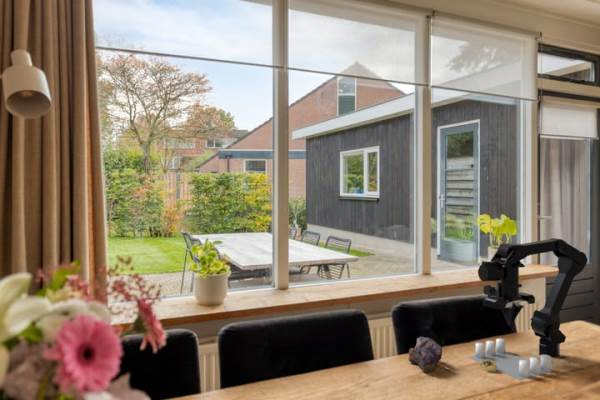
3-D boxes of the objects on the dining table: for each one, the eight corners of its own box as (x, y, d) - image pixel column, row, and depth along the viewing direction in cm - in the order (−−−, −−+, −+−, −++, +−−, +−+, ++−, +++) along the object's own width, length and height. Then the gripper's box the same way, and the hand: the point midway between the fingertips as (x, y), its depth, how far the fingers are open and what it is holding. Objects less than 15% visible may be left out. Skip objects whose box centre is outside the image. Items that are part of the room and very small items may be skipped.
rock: (418, 377, 136) (448, 374, 137) (419, 352, 134) (449, 350, 135) (405, 358, 147) (432, 355, 148) (405, 335, 146) (433, 333, 147)
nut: (488, 364, 139) (486, 357, 139) (500, 370, 135) (499, 363, 135) (478, 370, 138) (476, 363, 138) (490, 376, 133) (489, 369, 133)
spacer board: (501, 352, 153) (501, 337, 153) (554, 373, 135) (554, 356, 135) (468, 360, 146) (468, 344, 146) (519, 383, 128) (519, 365, 128)
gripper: (508, 274, 157) (508, 315, 157) (471, 278, 149) (471, 322, 149) (536, 279, 147) (536, 324, 147) (497, 284, 139) (497, 331, 139)
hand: (509, 325), depth 146 cm, fingers closed
